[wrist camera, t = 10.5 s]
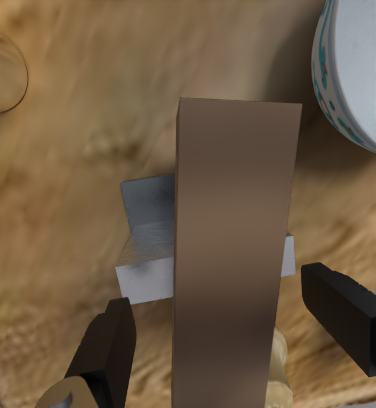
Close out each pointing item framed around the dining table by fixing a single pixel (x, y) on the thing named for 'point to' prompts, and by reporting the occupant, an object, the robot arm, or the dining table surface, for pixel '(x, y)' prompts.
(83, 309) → the dining table surface
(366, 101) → the chinaware
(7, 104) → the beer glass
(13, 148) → the dining table surface
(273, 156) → the walnut plank
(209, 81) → the dining table surface
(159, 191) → the stand
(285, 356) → the hand bell
